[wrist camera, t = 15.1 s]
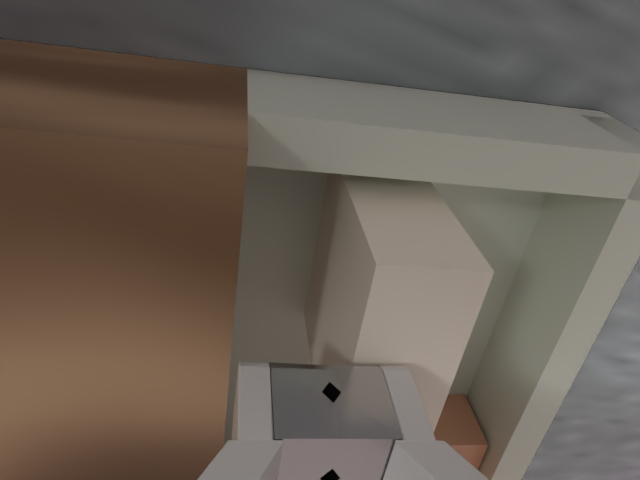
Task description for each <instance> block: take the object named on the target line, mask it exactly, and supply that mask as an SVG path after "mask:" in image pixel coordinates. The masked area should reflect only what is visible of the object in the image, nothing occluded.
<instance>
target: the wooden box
mask: <svg viewBox="0 0 640 480" xmlns="http://www.w3.org/2000/svg"><path fill="white" fill-rule="evenodd" d="M247 158H248V93H247V68H239V67H231V66H222V65H214V64H206V63H198V62H189V61H181V60H173V59H164V58H156V57H148V56H140V55H131V54H123V53H115V52H107V51H98V50H90V49H82V48H74V47H65V46H57V45H49V44H41V43H32V42H24V41H16V40H7V39H0V480H197V479H198V478H199V477H200V476H201V474H202V473H203V472H204V471H205V469H206V468H207V467H208V465H209V464H210V463H211V462H212V460H213V459H214V458H215V457H216V455H217V454H218V453H219V451H220V450H221V449H222V448H223V445H224V433H225V421H226V409H227V397H228V385H229V373H230V361H231V349H232V337H233V325H234V313H235V301H236V289H237V277H238V265H239V253H240V241H241V229H242V217H243V205H244V193H245V181H246V170H247Z"/></svg>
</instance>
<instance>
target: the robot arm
mask: <svg viewBox="0 0 640 480" xmlns="http://www.w3.org/2000/svg"><path fill="white" fill-rule="evenodd" d="M197 480H489V479H487V478H486V477H485V476H484V475H483V474H482V473H481V472H480V471H478V470H477V469H476V468H475V467H474V466H473V465H472V464H470V463H469V462H468V461H467V460H466V459H465V458H464V457H462V456H461V455H460V454H459V453H458V452H457V451H456V450H454V449H453V448H452V447H451V446H450V445H449V444H448V443H447V442H445V441H437V440H436V439H435V436H434V433H433V431H432V428H431V425H430V423H429V420H428V417H427V414H426V412H425V409H424V406H423V404H422V401H421V398H420V396H419V393H418V390H417V388H416V385H415V382H414V380H413V377H412V374H411V372H410V370H409V369H408V368H407V367H406V366H362V365H313V364H294V363H274V362H269V364H268V363H261V362H244V361H239V365H238V372H237V382H236V392H235V402H234V413H233V426H232V440H228V441H227V442H226V444H225V445H224V446H223V448H222V449H221V450H220V451H219V453H218V454H217V455H216V457H215V458H214V459H213V460H212V462H211V463H210V464H209V465H208V467H207V468H206V469H205V471H204V472H203V473H202V474H201V476H200V477H199V478H198V479H197Z"/></svg>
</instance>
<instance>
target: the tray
mask: <svg viewBox="0 0 640 480" xmlns="http://www.w3.org/2000/svg"><path fill="white" fill-rule="evenodd" d="M247 93H248V158H247V170H246V181H245V193H244V205H243V217H242V229H241V241H240V253H239V265H238V277H237V289H236V301H235V313H234V325H233V337H232V349H231V361H230V373H229V385H228V397H227V409H226V421H225V433H224V445H225V444H226V442H227V441H228V440H232V426H233V413H234V402H235V392H236V382H237V372H238V365H239V361H244V362H261V363H268V364H269V362H274V363H294V364H311V358H310V351H309V344H308V338H307V331H306V324H305V317H304V311H305V305H306V300H307V294H308V288H309V282H310V276H311V270H312V264H313V258H314V253H315V247H316V241H317V235H318V229H319V223H320V217H321V211H322V206H323V200H324V194H325V188H326V182H327V176H328V173H335V174H346V175H357V176H368V177H380V178H391V179H402V180H413V181H424V182H431V183H432V184H433V186H434V187H435V188H436V190H437V191H438V193H439V194H440V196H441V197H442V198H443V200H444V201H445V203H446V204H447V205H448V207H449V208H450V210H451V211H452V213H453V214H454V215H455V217H456V218H457V220H458V221H459V223H460V224H461V225H462V227H463V228H464V230H465V231H466V232H467V234H468V235H469V237H470V238H471V240H472V241H473V242H474V244H475V245H476V247H477V248H478V250H479V251H480V252H481V254H482V255H483V257H484V258H485V259H486V261H487V262H488V264H489V265H490V267H491V268H492V269H493V271H494V274H493V277H492V279H491V282H490V285H489V287H488V290H487V293H486V295H485V298H484V301H483V303H482V306H481V309H480V311H479V314H478V316H477V319H476V322H475V324H474V327H473V330H472V332H471V335H470V338H469V340H468V343H467V346H466V348H465V351H464V354H463V356H462V359H461V362H460V364H459V367H458V370H457V372H456V375H455V378H454V380H453V383H452V385H451V388H450V391H449V393H448V394H465V395H466V397H467V400H468V402H469V404H470V406H471V408H472V410H473V413H474V415H475V417H476V419H477V421H478V423H479V426H480V428H481V430H482V432H483V434H484V436H485V439H486V441H487V443H488V447H487V449H486V452H485V454H484V456H483V459H482V461H481V463H480V466H479V468H478V471H480V472H481V473H482V474H483V475H484V476H485V477H486V478H487V479H489V480H522V478H523V476H524V474H525V472H526V470H527V469H528V467H529V465H530V463H531V461H532V459H533V457H534V455H535V453H536V451H537V450H538V448H539V446H540V444H541V442H542V440H543V438H544V436H545V434H546V433H547V431H548V429H549V427H550V425H551V423H552V421H553V419H554V417H555V416H556V414H557V412H558V410H559V408H560V406H561V404H562V402H563V400H564V399H565V397H566V395H567V393H568V391H569V389H570V387H571V385H572V383H573V381H574V380H575V378H576V376H577V374H578V372H579V370H580V368H581V366H582V364H583V363H584V361H585V359H586V357H587V355H588V353H589V351H590V349H591V347H592V346H593V344H594V342H595V340H596V338H597V336H598V334H599V332H600V330H601V329H602V327H603V325H604V323H605V321H606V319H607V317H608V315H609V313H610V311H611V310H612V308H613V306H614V304H615V302H616V300H617V298H618V296H619V294H620V293H621V291H622V289H623V287H624V285H625V283H626V281H627V279H628V277H629V276H630V274H631V272H632V270H633V268H634V266H635V264H636V262H637V260H638V258H639V257H640V132H639V131H637V130H635V129H633V128H631V127H630V126H628V125H626V124H624V123H622V122H620V121H618V120H617V119H615V118H613V117H611V116H609V115H607V114H606V113H604V112H602V111H594V110H586V109H578V108H569V107H561V106H553V105H545V104H536V103H528V102H520V101H511V100H503V99H495V98H487V97H478V96H470V95H462V94H454V93H445V92H437V91H429V90H421V89H412V88H404V87H396V86H388V85H379V84H371V83H363V82H354V81H346V80H338V79H330V78H321V77H313V76H305V75H297V74H288V73H280V72H272V71H264V70H255V69H247ZM224 445H223V446H224Z"/></svg>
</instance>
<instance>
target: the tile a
mask: <svg viewBox="0 0 640 480" xmlns="http://www.w3.org/2000/svg"><path fill="white" fill-rule="evenodd" d="M493 274H494V271H493V269H492V268H491V267H490V265H489V264H488V262H487V261H486V259H485V258H484V257H483V255H482V254H481V252H480V251H479V250H478V248H477V247H476V245H475V244H474V242H473V241H472V240H471V238H470V237H469V235H468V234H467V232H466V231H465V230H464V228H463V227H462V225H461V224H460V223H459V221H458V220H457V218H456V217H455V215H454V214H453V213H452V211H451V210H450V208H449V207H448V205H447V204H446V203H445V201H444V200H443V198H442V197H441V196H440V194H439V193H438V191H437V190H436V188H435V187H434V186H433V184H432V183H431V182H424V181H413V180H402V179H391V178H380V177H368V176H357V175H346V174H335V173H328V176H327V182H326V188H325V194H324V200H323V206H322V211H321V217H320V223H319V229H318V235H317V241H316V247H315V253H314V258H313V264H312V270H311V276H310V282H309V288H308V294H307V300H306V305H305V311H304V317H305V324H306V331H307V338H308V344H309V351H310V358H311V364H313V365H362V366H406V367H407V368H408V369H409V370H410V372H411V374H412V377H413V380H414V382H415V385H416V388H417V390H418V393H419V396H420V398H421V401H422V404H423V406H424V409H425V412H426V414H427V417H428V420H429V423H430V425H431V428H432V431H433V433H434V431H435V428H436V425H437V423H438V420H439V417H440V415H441V412H442V409H443V407H444V404H445V401H446V399H447V396H448V393H449V391H450V388H451V385H452V383H453V380H454V378H455V375H456V372H457V370H458V367H459V364H460V362H461V359H462V356H463V354H464V351H465V348H466V346H467V343H468V340H469V338H470V335H471V332H472V330H473V327H474V324H475V322H476V319H477V316H478V314H479V311H480V309H481V306H482V303H483V301H484V298H485V295H486V293H487V290H488V287H489V285H490V282H491V279H492V277H493Z"/></svg>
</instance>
